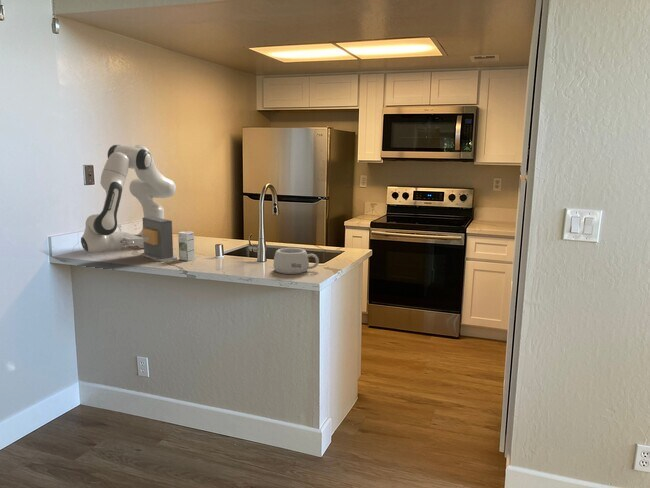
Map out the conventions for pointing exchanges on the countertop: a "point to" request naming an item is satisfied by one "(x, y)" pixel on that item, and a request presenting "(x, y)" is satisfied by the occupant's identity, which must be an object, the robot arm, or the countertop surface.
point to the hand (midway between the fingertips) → (143, 237)
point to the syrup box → (186, 246)
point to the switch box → (159, 240)
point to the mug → (293, 261)
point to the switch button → (150, 235)
